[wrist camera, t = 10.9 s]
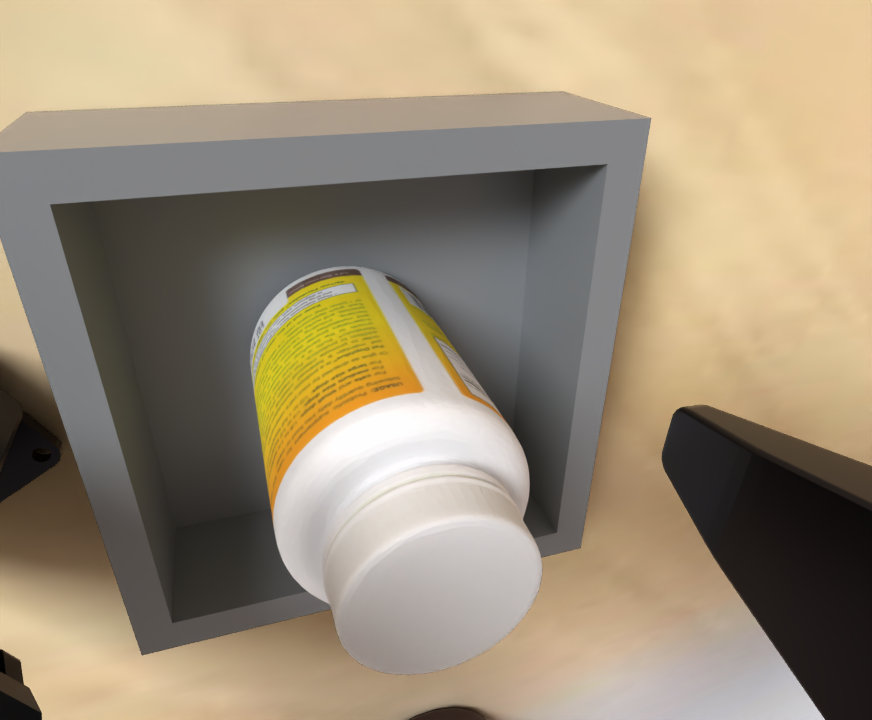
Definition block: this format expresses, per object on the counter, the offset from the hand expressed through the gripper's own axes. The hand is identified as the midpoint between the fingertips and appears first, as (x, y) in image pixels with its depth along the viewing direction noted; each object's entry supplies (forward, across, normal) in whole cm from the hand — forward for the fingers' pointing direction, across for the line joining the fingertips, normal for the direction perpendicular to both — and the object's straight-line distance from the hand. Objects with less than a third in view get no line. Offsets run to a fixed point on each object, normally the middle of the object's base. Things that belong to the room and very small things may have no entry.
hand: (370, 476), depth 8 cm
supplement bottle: (+12, -2, +4) cm, 12 cm away
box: (+12, -2, +4) cm, 13 cm away
